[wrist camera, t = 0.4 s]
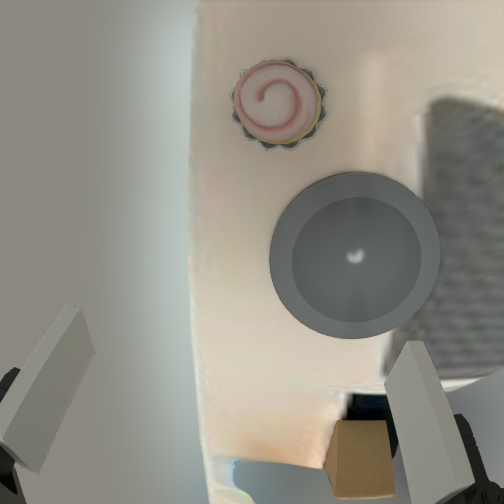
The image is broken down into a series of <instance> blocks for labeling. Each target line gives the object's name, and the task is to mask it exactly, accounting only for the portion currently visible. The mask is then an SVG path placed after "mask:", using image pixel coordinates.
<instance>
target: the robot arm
mask: <svg viewBox="0 0 504 504" xmlns="http://www.w3.org/2000/svg"><path fill="white" fill-rule="evenodd" d="M95 354H96V353H95V350H94V347H93V344H92V341H91V337H90V334H89V331H88V327H87V324H86V320H85V317H84V313H83V310H82V307H80V306H76V305H70V304H66V306H65V307H64V308H63V310H62V311H61V312H60V314H59V315H58V316H57V318H56V320H55V321H54V322H53V323H52V325H51V326H50V328H49V329H48V331H47V332H46V333H45V335H44V336H43V338H42V339H41V341H40V342H39V343H38V345H37V346H36V348H35V349H34V351H33V352H32V354H31V355H30V357H29V358H28V360H27V361H26V363H25V365H24V366H23V367H22V369H21V370H20V369H18V368H15V367H14V368H13V369H12V370H10V371H9V372H8V373H7V374H5V375H4V377H3V379H2V380H1V382H0V504H26V501H25V498H24V495H23V492H22V489H21V486H20V482H19V479H18V476H17V472H16V470H15V467H14V463H15V461H16V462H17V463H18V464H19V465H20V466H21V467H22V468H24V469H26V470H28V471H30V472H32V473H34V474H36V475H39V473H40V471H41V468H42V466H43V463H44V461H45V458H46V456H47V454H48V452H49V449H50V447H51V445H52V442H53V440H54V438H55V436H56V433H57V431H58V429H59V427H60V425H61V422H62V420H63V418H64V416H65V414H66V411H67V410H68V407H69V405H70V403H71V401H72V399H73V397H74V395H75V393H76V391H77V389H78V387H79V385H80V383H81V381H82V379H83V377H84V375H85V373H86V371H87V369H88V367H89V365H90V363H91V361H92V360H93V358H94V356H95ZM384 386H385V389H386V393H387V397H388V400H389V404H390V408H391V412H392V416H393V420H394V424H395V428H396V432H397V436H398V440H399V444H400V449H401V453H402V457H403V462H404V466H405V471H406V476H407V481H408V486H409V491H410V497H411V501H412V504H504V488H500V486H499V485H498V484H496V483H495V482H491V481H489V479H488V477H487V475H486V471H485V468H484V465H483V462H482V459H481V456H480V453H479V450H478V447H477V446H476V441H475V438H474V437H473V433H472V430H471V427H470V425H469V423H468V422H467V420H466V419H465V418H464V417H463V415H462V414H456V415H453V413H452V411H451V408H450V405H449V403H448V400H447V398H446V395H445V393H444V390H443V388H442V385H441V383H440V380H439V378H438V375H437V373H436V371H435V368H434V366H433V364H432V361H431V359H430V357H429V354H428V352H427V350H426V348H425V346H424V343H423V341H407V342H406V344H405V346H404V348H403V350H402V352H401V354H400V356H399V357H398V359H397V361H396V363H395V365H394V367H393V369H392V370H391V372H390V374H389V376H388V378H387V379H386V381H385V383H384Z"/></svg>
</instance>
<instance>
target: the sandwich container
mask: <svg viewBox="0 0 504 504" xmlns="http://www.w3.org/2000/svg"><path fill="white" fill-rule="evenodd" d="M324 468H325V470H326V472H327V475H328V478H329V481H330V483H331V486H332V490H333V495H334V498H336V499H374V498H384V497H393V496H395V483H394V475H393V466H392V458H391V451H390V444H389V437H388V431H387V425H386V421H348V420H338V421H337V423H336V426H335V430H334V433H333V436H332V439H331V442H330V446H329V450H328V454H327V459H326V462H325V466H324Z"/></svg>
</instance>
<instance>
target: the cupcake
mask: <svg viewBox="0 0 504 504" xmlns="http://www.w3.org/2000/svg"><path fill="white" fill-rule="evenodd" d="M327 94H328V90H327V89H326V88H325V87H324V86H322V85H321V84H319V83H318V82H316V74H315V72H314V71H313V69H311V68H309V67H299V66H298V64H297V63H296V62H295V61H294V59H293V58H291V57H286V58H284V59H282V60H279V61H277V60H271V59H268V58H262V59H261V60H260V62H259V63H258V64H256V65H255V66H253V67H251V68H250V69H245V70H242V71H241V73H240V79H239V81H238V82H237V84H236V87H235V88H233V89H232V90H231V91H230V92H229V95H230V98H231V99H232V101H233V103H234V107H233V109H232V111H231V114H230V118H231V119H232V120H233V121H234V122H236V123H238V124H239V125H241V132H242V136H243V138H244V139H247V140H257V141H258V142H259V144H260V145H261V147H262V148H263V149H265V150H266V151H268V150H272V149H274V148H276V147H278V146H280V147H282V148H285V149H287V150H293V149H294V148H296V147H297V146H298V145H299V143H300V142H301V140H310V139H312V138H313V137H315V135H316V134H317V127H318V124H319V123H321V122H322V121H324V120H325V119H326V118H327V117H328V112H327V109H326V107H325V106H324V104H323V102H324V100H325V98H326V96H327Z"/></svg>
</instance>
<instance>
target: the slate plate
mask: <svg viewBox="0 0 504 504" xmlns="http://www.w3.org/2000/svg"><path fill="white" fill-rule="evenodd" d="M269 262H270V273H271V278H272V282H273V285H274V288H275V290H276V292H277V294H278V296H279V298H280V300H281V302H282V303H283V305H284V306H285V307H286V309H287V310H288V311H289V312H290V313H291V314H292V315H293V316H294V317H295V318H296V319H297V320H298V321H300V322H301V323H302V324H304V325H305V326H307V327H308V328H310V329H312V330H314V331H316V332H318V333H321V334H324V335H327V336H331V337H335V338H342V339H361V338H368V337H373V336H377V335H380V334H382V333H385V332H388V331H390V330H392V329H394V328H396V327H398V326H399V325H401V324H402V323H404V322H405V321H406V320H408V319H409V318H410V317H411V316H412V315H414V313H415V312H416V311H417V310H418V309H419V308H420V307H421V306H422V304H423V303H424V302H425V300H426V299H427V297H428V296H429V294H430V292H431V290H432V288H433V286H434V284H435V281H436V278H437V275H438V271H439V266H440V240H439V235H438V231H437V228H436V225H435V223H434V220H433V218H432V216H431V214H430V213H429V211H428V210H427V208H426V206H425V205H424V204H423V203H422V202H421V200H420V199H419V198H418V197H417V196H416V195H414V194H413V193H412V192H411V191H410V190H408V189H407V188H405V187H404V186H402V185H401V184H399V183H397V182H395V181H393V180H391V179H389V178H386V177H383V176H380V175H376V174H370V173H356V172H352V173H344V174H339V175H335V176H331V177H328V178H326V179H324V180H321V181H319V182H317V183H315V184H314V185H312V186H310V187H309V188H307V189H306V190H305V191H303V192H302V193H301V194H300V195H298V196H297V197H296V198H295V199H294V200H293V202H292V203H291V204H290V205H289V206H288V208H287V209H286V210H285V212H284V213H283V215H282V217H281V219H280V221H279V222H278V224H277V227H276V229H275V232H274V235H273V238H272V242H271V247H270V257H269Z"/></svg>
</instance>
